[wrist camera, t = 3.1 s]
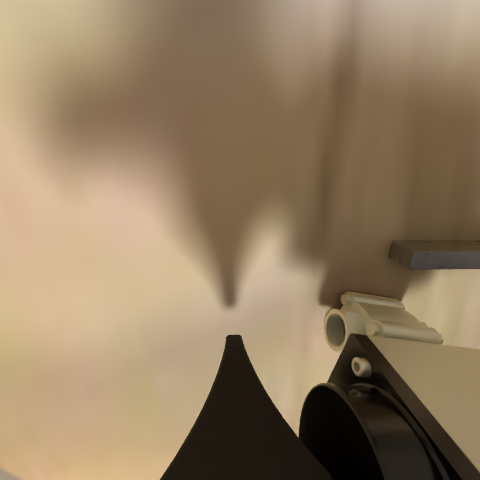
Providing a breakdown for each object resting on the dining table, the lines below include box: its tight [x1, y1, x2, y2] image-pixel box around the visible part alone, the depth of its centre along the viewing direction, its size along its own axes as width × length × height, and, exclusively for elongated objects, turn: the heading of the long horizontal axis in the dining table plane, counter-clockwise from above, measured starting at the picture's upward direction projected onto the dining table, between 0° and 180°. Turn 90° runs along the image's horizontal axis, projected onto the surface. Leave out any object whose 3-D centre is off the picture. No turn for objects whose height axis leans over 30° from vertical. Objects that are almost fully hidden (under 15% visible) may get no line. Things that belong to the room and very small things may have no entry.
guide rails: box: [389, 241, 480, 269], centre depth 14 cm, size 8×11×2 cm
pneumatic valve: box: [299, 291, 480, 480], centre depth 9 cm, size 6×12×12 cm, turn 78°
